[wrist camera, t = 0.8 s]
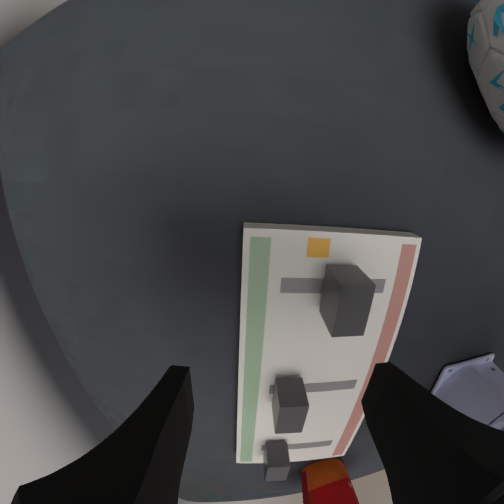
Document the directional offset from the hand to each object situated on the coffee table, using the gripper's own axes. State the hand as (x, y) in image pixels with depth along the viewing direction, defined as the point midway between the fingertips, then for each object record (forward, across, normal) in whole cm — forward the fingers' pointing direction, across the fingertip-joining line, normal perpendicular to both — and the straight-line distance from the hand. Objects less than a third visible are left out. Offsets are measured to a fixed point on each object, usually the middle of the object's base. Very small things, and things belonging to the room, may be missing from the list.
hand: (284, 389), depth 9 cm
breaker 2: (+8, -2, +18) cm, 20 cm away
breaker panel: (+10, -4, +9) cm, 14 cm away
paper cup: (+11, -10, +27) cm, 31 cm away
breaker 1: (+8, -2, +9) cm, 13 cm away
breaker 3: (+8, -4, 0) cm, 10 cm away
